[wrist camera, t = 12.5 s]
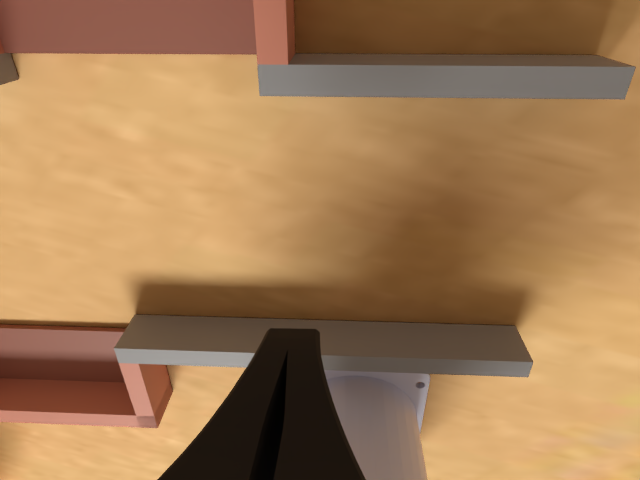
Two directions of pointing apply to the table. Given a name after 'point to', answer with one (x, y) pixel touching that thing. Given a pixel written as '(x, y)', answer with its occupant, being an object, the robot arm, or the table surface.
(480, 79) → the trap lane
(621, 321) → the table surface
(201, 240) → the table surface
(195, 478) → the robot arm
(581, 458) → the table surface
